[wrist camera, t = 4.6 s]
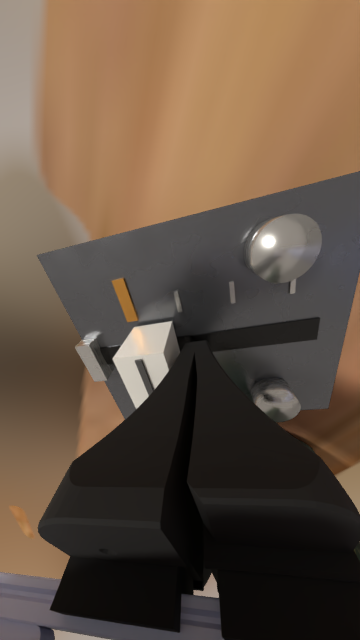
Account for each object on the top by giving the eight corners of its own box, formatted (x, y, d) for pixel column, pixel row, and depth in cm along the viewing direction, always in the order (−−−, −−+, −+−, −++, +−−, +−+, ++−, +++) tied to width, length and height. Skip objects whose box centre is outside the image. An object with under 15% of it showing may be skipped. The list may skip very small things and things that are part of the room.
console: (343, 179, 8) (427, 148, 5) (311, 386, 14) (343, 427, 11) (62, 252, 11) (11, 258, 8) (132, 400, 17) (119, 436, 14)
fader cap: (172, 321, 10) (162, 354, 7) (185, 372, 12) (182, 415, 9) (133, 327, 10) (111, 360, 8) (152, 376, 12) (139, 418, 9)
